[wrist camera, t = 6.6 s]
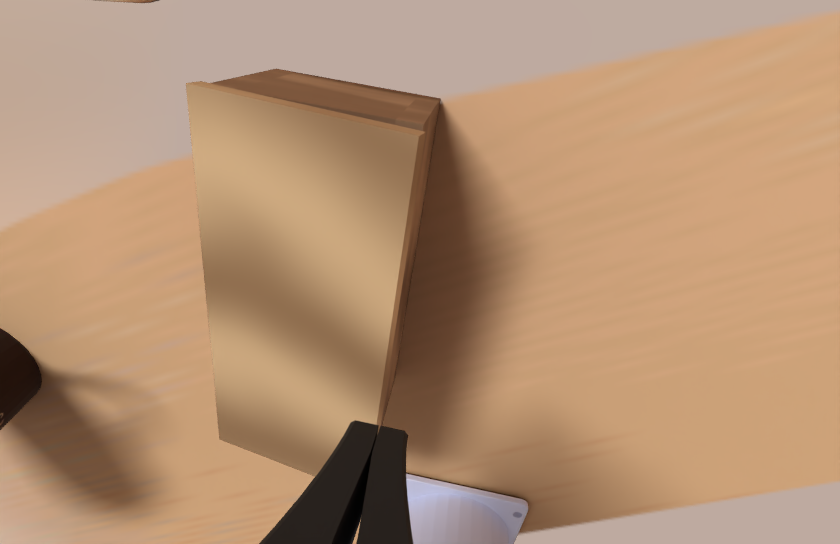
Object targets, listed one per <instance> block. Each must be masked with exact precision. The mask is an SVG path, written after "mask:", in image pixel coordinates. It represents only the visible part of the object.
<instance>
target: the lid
mask: <svg viewBox="0 0 840 544" xmlns="http://www.w3.org/2000/svg"><path fill="white" fill-rule="evenodd" d="M186 89H187V100H188V111H189V122H190V131H191V142H192V153H193V164H194V174H195V185H196V195H197V206H198V217H199V227H200V238H201V248H202V259H203V269H204V280H205V290H206V301H207V312H208V322H209V333H210V343H211V354H212V364H213V375H214V385H215V396H216V407H217V417H218V428H219V438H220V440H223V441H225V442H228V443H230V444H233V445H236V446H238V447H241V448H243V449H246V450H248V451H251V452H253V453H256V454H259V455H261V456H264V457H266V458H269V459H271V460H274V461H277V462H279V463H282V464H284V465H287V466H289V467H292V468H295V469H297V470H300V471H302V472H305V473H307V474H310V475H313V476H316V475H317V474H318V473H319V471H320V470H321V469H322V467H323V466H324V464H325V463H326V461H327V460H328V459H329V457H330V456H331V454H332V453H333V451H334V450H335V448H336V447H337V445H338V444H339V442H340V440H341V439H342V437H343V435H344V434H345V432H346V430H347V428H348V426H349V424H350V422H353V421H355V420H357V421H361V422H366V423H370V424H375V425H379V428H378V432H379V429H380V426H381V420H382V414H383V407H384V401H385V394H386V388H387V381H388V375H389V368H390V362H391V355H392V349H393V342H394V336H395V329H396V323H397V316H398V310H399V303H400V297H401V290H402V284H403V277H404V271H405V264H406V258H407V251H408V245H409V238H410V232H411V225H412V219H413V212H414V206H415V199H416V193H417V186H418V180H419V173H420V167H421V160H422V154H423V147H424V141H425V134H426V132H424V131H420V130H415V129H411V128H406V127H402V126H398V125H393V124H389V123H384V122H380V121H375V120H371V119H366V118H362V117H358V116H353V115H349V114H344V113H340V112H335V111H331V110H326V109H322V108H318V107H313V106H309V105H304V104H300V103H295V102H291V101H286V100H282V99H277V98H273V97H269V96H264V95H260V94H255V93H251V92H246V91H242V90H237V89H233V88H229V87H224V86H220V85H215V84H211V83H206V82H202V81H200V82H192V83H186ZM377 435H378V434H377Z"/></svg>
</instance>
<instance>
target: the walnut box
mask: <svg viewBox="0 0 840 544" xmlns="http://www.w3.org/2000/svg"><path fill="white" fill-rule="evenodd" d="M211 84H215V85H220V86H224V87H229V88H233V89H237V90H242V91H246V92H251V93H255V94H260V95H264V96H269V97H273V98H277V99H282V100H286V101H291V102H295V103H300V104H304V105H309V106H313V107H318V108H322V109H326V110H331V111H335V112H340V113H344V114H349V115H353V116H358V117H362V118H366V119H371V120H375V121H380V122H384V123H389V124H393V125H398V126H402V127H406V128H411V129H415V130H420V131H424V132H426V134H425V141H424V147H423V154H422V160H421V167H420V173H419V180H418V186H417V193H416V199H415V206H414V212H413V219H412V225H411V232H410V238H409V245H408V251H407V258H406V264H405V271H404V277H403V284H402V290H401V297H400V303H399V310H398V316H397V323H396V329H395V336H394V342H393V349H392V355H391V362H390V368H389V375H388V381H387V388H386V394H385V401H384V407H383V414H382V420H381V426H382V424H383V420H384V416H385V412H386V409H387V405H388V401H389V398H390V394H391V390H392V387H393V383H394V379H395V374H396V368H397V362H398V356H399V350H400V344H401V338H402V332H403V326H404V319H405V313H406V307H407V301H408V295H409V289H410V283H411V277H412V271H413V264H414V258H415V252H416V246H417V240H418V234H419V228H420V222H421V215H422V209H423V203H424V197H425V191H426V185H427V179H428V173H429V167H430V160H431V154H432V148H433V142H434V136H435V130H436V124H437V118H438V112H439V105H440V98H434V97H429V96H422V95H417V94H412V93H407V92H401V91H396V90H390V89H384V88H379V87H374V86H368V85H363V84H357V83H352V82H346V81H341V80H335V79H330V78H324V77H318V76H312V75H308V74H302V73H296V72H291V71H286V70H280V69H273V70H268V71H264V72H259V73H255V74H250V75H245V76H241V77H236V78H232V79H227V80H223V81H218V82H214V83H211Z"/></svg>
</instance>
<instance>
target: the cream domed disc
mask: <svg viewBox="0 0 840 544" xmlns="http://www.w3.org/2000/svg"><path fill="white" fill-rule="evenodd" d="M95 1H114V2H133V3H151V2H155V1H159V0H95Z"/></svg>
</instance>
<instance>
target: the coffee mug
mask: <svg viewBox="0 0 840 544" xmlns="http://www.w3.org/2000/svg"><path fill="white" fill-rule="evenodd" d="M40 386H41V374H40V371H39V368H38V366H37V364H36V362H35V361H34V359H33V357H32V356H31V355H30V353H29V352H28V351H27V350H26V349H25V348H24V347H23V346H22V345H21V344H20V343H19V342H18V341H17V340H16V339H15V338H13V337H12V336H11V335H10V334H8V333H7V332H5V331H3V330H2V329H0V430H1V429H2V428H3V427H4V426H5V425H6V424H7V423H8V422H9V421H10V420H11V419H12V418H13V417H14V416H15V415H16V414H17V413H18V412H19V411H20V410H21V409H22V408H23V407H24V405H25V404H26V403H27V402H28V401H29V400H30V399H31V398H32V397H33V396H34V395H35V394H36V393H37V392H38V390H39V389H40Z"/></svg>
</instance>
